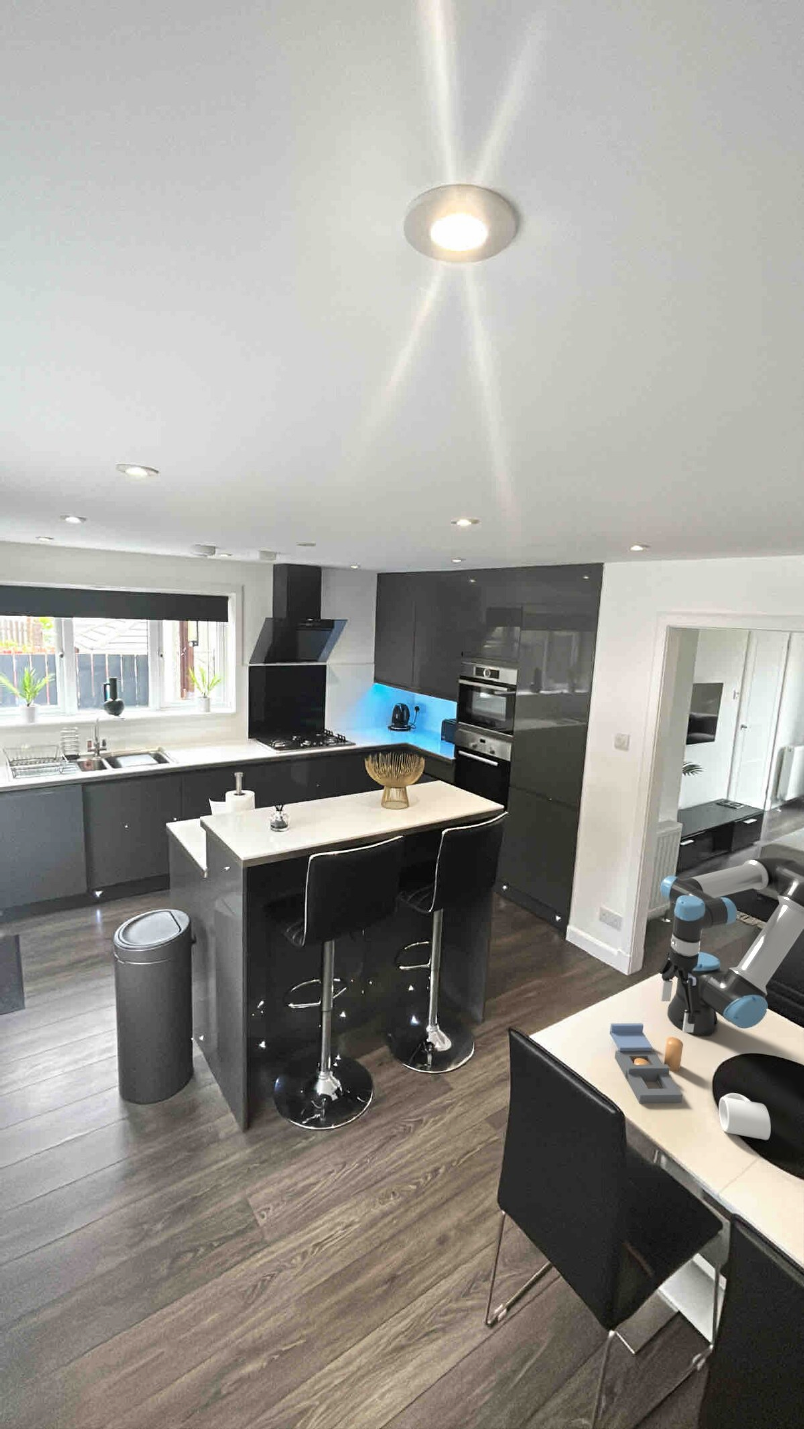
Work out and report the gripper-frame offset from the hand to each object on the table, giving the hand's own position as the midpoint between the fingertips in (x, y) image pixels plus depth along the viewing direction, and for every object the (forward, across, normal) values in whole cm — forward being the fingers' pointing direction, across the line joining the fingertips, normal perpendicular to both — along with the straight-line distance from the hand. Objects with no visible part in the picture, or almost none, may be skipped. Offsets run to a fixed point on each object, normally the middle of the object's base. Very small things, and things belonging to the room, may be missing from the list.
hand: (676, 1015), depth 182 cm
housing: (+17, +5, -10) cm, 20 cm away
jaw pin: (+17, 0, 0) cm, 17 cm away
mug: (+17, +21, +9) cm, 29 cm away
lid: (+14, -6, -10) cm, 18 cm away
